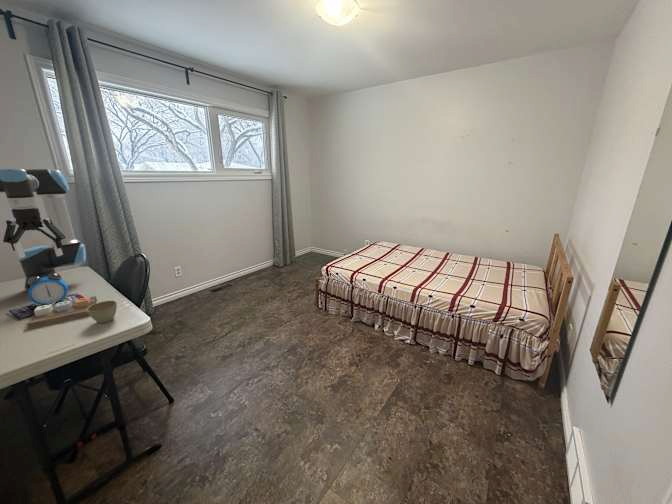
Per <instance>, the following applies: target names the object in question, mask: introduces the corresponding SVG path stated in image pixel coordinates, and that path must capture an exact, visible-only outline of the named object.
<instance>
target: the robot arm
mask: <svg viewBox="0 0 672 504" xmlns="http://www.w3.org/2000/svg"><path fill="white" fill-rule="evenodd" d="M69 191H70V187H69V182H68V181H67V179H66V177H65V176H64V174H63V173H62V172H61V170H58V169H50V168H47V169H45V168H42V169H41V168H40V169H38V168H36V169H35V168H34V169H33V168H31V169H29V168H26V169H23V168H0V193H5V196H6V199H7V201H8V205H9V207H10V208H12V209H11V210H10V211H11V213H12V216H13V218H14V219H8V220H6V221H5V224H6V229H5V232H4V237H3V240H2V242H3V243H5V244H6V243H7V244H10V246H11V248H12V251H14V252H15V253H16V257H17V258H18V259H17V260H18V261H19V263H20V265H21V268H22V271H23V273H24V277H25V280H24V290H25V292H26V293H28V291H29V289H30V287H31V285H32V284H31V285H29V284H28V280H29V279H30V278H32V277H34V276H39V277H41V278H43V277H42V276H46V277H48V275H49V274H52V273H57V272H56V270H55V269H56V268H63V267H69V266H76V265H82V264H84V263H85V262H86V259H87V250H86V245H85V243H81V241H80V240H78V239H77V238H76V236H75V232H74V230H73V225H72V221H71V218H70V214H69V210H68V208H67V203H66V201H65V197H66V196H67V194H68V193H67V192H69ZM35 193H36V196H37V197H39V198H41V200H42V202H43V206H44V210H45V213H46V216H47V218H44V219H42V218H41V212H40V210H39V208H38V207H37V206H38V203H37V200H36V197H35V195H34V194H35ZM16 225H17V228H16ZM15 229H16V230H15ZM15 231H16V232H15ZM25 231H26V232H27V231H38V232H41V233H42V234H43V235H45V236H46V237H47V238H49V239H51V240H52V244H51V246H52V247H49V246H47V245H45V244H44V245H38V246H34V247H29V248H26V249H25V248H23V245H22V242H20V239H21V238H22V236H23V234H24V233H26V232H25ZM61 279H62V278H61ZM62 280H63V279H62Z"/></svg>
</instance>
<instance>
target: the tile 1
mask: <svg viewBox="0 0 672 504" xmlns="http://www.w3.org/2000/svg"><path fill="white" fill-rule="evenodd" d="M52 311H53V307H52V304H49V305H39V306H36V308H35V309H34V310H33V312H34V314H35V315H36V316H41V315H46V314H51V313H52Z"/></svg>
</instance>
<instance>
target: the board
mask: <svg viewBox="0 0 672 504" xmlns="http://www.w3.org/2000/svg"><path fill="white" fill-rule="evenodd" d="M89 297H90V300H91V304H90V305H89V306H84V307H80V308H76V305H75V301H76V300H77V299H73V300H71V301H72V305H73V306H72V308H71V309H70V310H65V311H60V312H57V311H56V308H55V306H56V304H57V303H56V304H52V307H53V311H52V313H51V314H46V315H41V316H36V315H35V313H34V314H33V315H32V317H31V318H30V319H28V320H29V321H28V322H27V323H26V325H27V328H28V329H33V328H39V327H42V326H47V325H52V324H56V323H61V322H64V321H71V320H74V319H75V320H76V319H78V318H83V317H87V316H90V315H89V314H88V312H87V308H88V307H90V306H92V305H94V304H96V303H98V299H97V296H96V295H94V296H89Z"/></svg>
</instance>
